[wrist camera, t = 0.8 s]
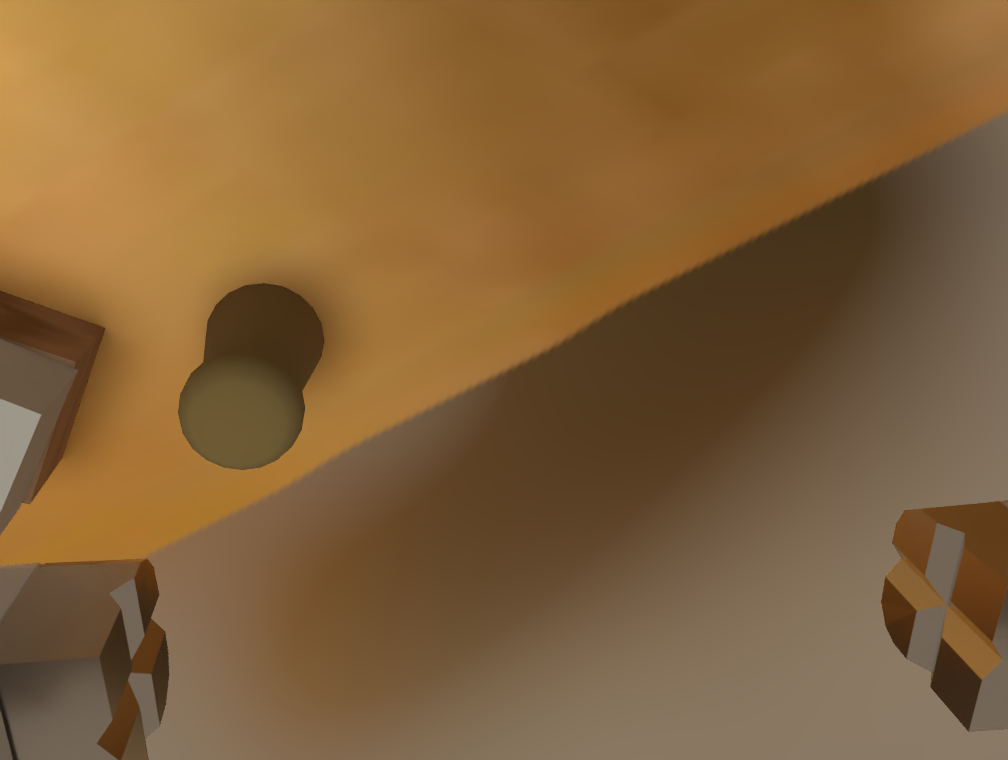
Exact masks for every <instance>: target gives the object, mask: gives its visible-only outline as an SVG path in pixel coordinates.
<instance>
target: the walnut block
mask: <svg viewBox="0 0 1008 760" xmlns="http://www.w3.org/2000/svg"><path fill="white" fill-rule="evenodd" d="M104 330H105V328H103V327H100V326H98V325H95V324H92V323H89V322H86V321H83V320H81V319H78V318H75V317H72V316H69V315H67V314H64V313H61V312H58V311H55V310H52V309H50V308H47V307H44V306H41V305H38V304H35V303H33V302H30V301H27V300H24V299H21V298H19V297H16V296H13V295H10V294H7V293H4V292H2V291H0V339H3V340H5V341H8V342H10V343H13V344H15V345H18V346H20V347H23V348H25V349H28V350H30V351H33V352H35V353H37V354H40V355H42V356H45V357H47V358H50V359H52V360H55V361H57V362H60V363H62V364H65V365H67V366H70V367H72V368H74V369H77V370H78V372H77V374H76V376H75V379H74V381H73V384H72V386H71V388H70V391H69V393H68V395H67V398H66V400H65V402H64V405H63V407H62V409H61V412H60V414H59V416H58V419H57V421H56V424H55V426H54V428H53V431H52V433H51V435H50V438H49V440H48V442H47V445H46V447H45V449H44V452H43V454H42V456H41V459H40V461H39V464H38V466H37V468H36V471H35V473H34V475H33V478H32V480H31V482H30V485H29V487H28V489H27V492H26V494H25V496H24V499H23V501H22V502H23V503H26V504H30V503H31V502H32V501H33V499H34V498H35V496H36V495H37V493H38V492H39V490H40V489H41V488H42V486H43V485H44V483H45V482H46V480H47V479H48V478H49V476H50V475H51V473H52V472H53V470H54V469H55V467H56V466H57V465H58V463H59V462H60V460H61V459H62V456H63V453H64V450H65V447H66V444H67V441H68V438H69V435H70V432H71V429H72V426H73V423H74V420H75V417H76V414H77V411H78V408H79V405H80V402H81V399H82V396H83V393H84V390H85V387H86V384H87V381H88V378H89V375H90V372H91V369H92V366H93V363H94V360H95V357H96V354H97V351H98V348H99V345H100V342H101V339H102V336H103V333H104Z"/></svg>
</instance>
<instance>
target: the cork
mask: <svg viewBox="0 0 1008 760" xmlns="http://www.w3.org/2000/svg"><path fill="white" fill-rule="evenodd" d="M323 343H324V337H323V331H322V325H321V322H320V320H319V319H318V317H317V315H316V313H315V311H314V309H313V308H312V307H311V306H310V305H309V304H308V303H307V302H306V301H305V300H304V299H303V298H302V297H301V296H300V295H298V294H296V293H294V292H292V291H290V290H288V289H286V288H284V287H281V286H275V285H270V284H255V285H247V286H243V287H241V288H239V289H237V290H235V291H232V292H230V293H228V294H227V295H226V296H225V297H224V298H223V299H222V300H221V301H220V302H219V303H218V304H217V305H216V306H215V308H214V310H213V312H212V314H211V316H210V317H209V319H208V324H207V332H206V341H205V351H204V360H203V363H202V364H201V365H200V366H199V367H198V368H197V369H196V370H194V371H193V372H192V373H191V375H190V377H189V378H188V380H187V382H186V384H185V386H184V388H183V390H182V392H181V394H180V401H179V410H178V414H179V419H180V423H181V427H182V431H183V434H184V436H185V437H186V439H187V441H188V442H189V444H190V445H191V447H192V448H193V449H194V450H195V451H196V452H198V453H199V454H200V455H201V456H202V457H204V458H205V459H206V460H208V461H210V462H212V463H215V464H217V465H219V466H222V467H224V468H232V469H239V470H245V469H253V468H260V467H263V466H265V465H267V464H269V463H272V462H274V461H276V460H278V459H279V458H280V457H281V456H282V455H283V454H284V453H285V452H287V451H288V450H289V449H290V448H291V447H292V446H293V444H294V442H295V441H296V439H297V437H298V435H299V433H300V432H301V430H302V424H303V418H304V412H305V405H304V399H303V394H302V390H303V388H304V387H305V385H306V383H307V381H308V379H309V378H310V376H311V374H312V372H313V371H314V369H315V367H316V365H317V363H318V362H319V360H320V358H321V355H322V349H323Z"/></svg>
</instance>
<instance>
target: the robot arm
mask: <svg viewBox="0 0 1008 760" xmlns="http://www.w3.org/2000/svg"><path fill="white" fill-rule="evenodd" d="M892 544H893V545H894V547H895V549H896V550H897V552H898V553H899V556H900V557H901V559H900V561H899V562H898V563H897V564H896V565H895V566H894V567H893V569H891V571H890V572H889V573H888V574H887V575H886V576H885V581H884V587H883V594H882V600H881V604H882V610H883V615H884V621H885V626H886V628H887V630H888V632H889V635H890V636H891V639H892V641H893V643H894V644H895V646H896V647H897V648H898V649H899V650H900V652H901V653H902V654H903V655H904V657H905V658H906V659H907V660H910V661H912V662H913V663H915V664H917V665H919V666H921V667H923V668H925V669H927V670H929V671H931V685H930V687H931V689H932V690H933V691H934V692H935V693H936V694H937V696H938V697H939V698H940V699H941V700H942V701H943V702H944V704H945V705H946V706H947V707H948V708H949V710H950V711H951V712H952V713H953V714H954V715H955V716H956V718H957V719H958V720H959V721H960V722H961V723H962V725H963V726H964V727H965V728H966V729H967V731H968V732H974V731H987V730H1002V729H1008V500H1005V501H995V502H988V503H978V504H967V505H956V506H946V507H936V508H924V509H914V510H905V511H904V512H903V514H902V515H901V517H900V519H899V520H898V522H897V523H896V527H895V532H894V537H893V541H892ZM158 597H159V590H158V586H157V580H156V575H155V570H154V567H153V565H152V564H151V563H150V561H149V560H148V558H146V559H124V560H103V561H82V562H60V563H45V564H40V563H32V564H19V565H7V566H0V760H149V758H148V753H147V746H146V740H145V739H146V738H147V737H148V736H149V735H150V734H151V733H153V732H154V731H155V730H156V729H157V728H158V727H159V726H160V724H161V720H162V717H163V713H164V710H165V706H166V700H167V691H168V681H169V657H168V646H167V640H166V633H165V631H164V630H163V629H162V628H161V627H160V626H159V625H158V624H156V623H155V622H154V621H153V620H152V619H151V617H152V614H153V611H154V608H155V606H156V603H157V600H158Z"/></svg>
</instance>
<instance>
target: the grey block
mask: <svg viewBox="0 0 1008 760" xmlns="http://www.w3.org/2000/svg"><path fill="white" fill-rule="evenodd" d="M77 372H78V370H77V369H74V368H72V367H70V366H67V365H65V364H62V363H60V362H57V361H55V360H52V359H50V358H47V357H45V356H42V355H40V354H37V353H35V352H33V351H30V350H28V349H25V348H23V347H20V346H18V345H15V344H13V343H10V342H8V341H5V340H3V339H0V535H1V533H2V532H3V530H4V529H5V528H6V526H7V525H8V523H9V522H10V521H11V519H12V518H13V516H14V515H15V514H16V512H17V511H18V509H19V508H20V506H21V503H22V501H23V499H24V496H25V494H26V492H27V489H28V487H29V485H30V482H31V480H32V478H33V475H34V473H35V471H36V468H37V466H38V464H39V461H40V459H41V456H42V454H43V452H44V449H45V447H46V445H47V442H48V440H49V438H50V435H51V433H52V431H53V428H54V426H55V424H56V421H57V419H58V416H59V414H60V412H61V409H62V407H63V405H64V402H65V400H66V398H67V395H68V393H69V391H70V388H71V386H72V384H73V381H74V379H75V376H76V374H77Z"/></svg>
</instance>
